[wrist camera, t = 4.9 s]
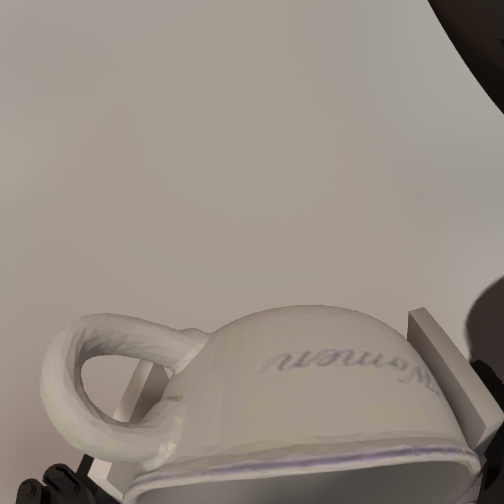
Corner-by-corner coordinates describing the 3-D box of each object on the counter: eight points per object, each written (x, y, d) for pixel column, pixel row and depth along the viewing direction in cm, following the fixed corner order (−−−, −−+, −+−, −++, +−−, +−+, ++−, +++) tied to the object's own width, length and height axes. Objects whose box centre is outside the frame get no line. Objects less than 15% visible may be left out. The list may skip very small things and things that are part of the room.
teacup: (427, 381, 13) (485, 498, 6) (261, 460, 16) (259, 573, 8) (283, 138, 10) (352, 127, 2) (80, 301, 12) (-26, 425, 5)
